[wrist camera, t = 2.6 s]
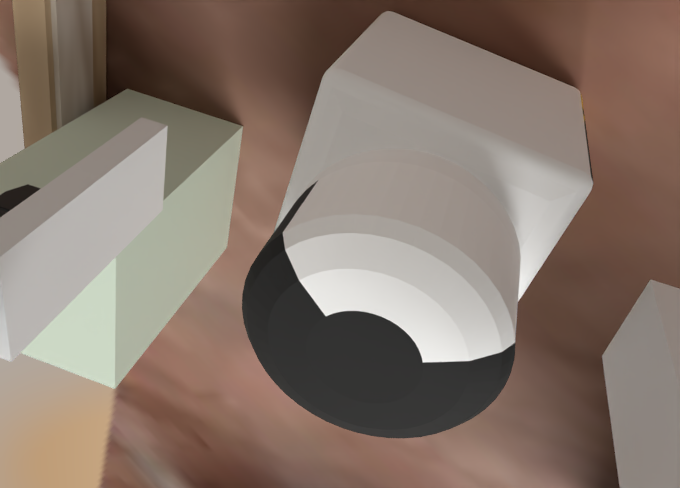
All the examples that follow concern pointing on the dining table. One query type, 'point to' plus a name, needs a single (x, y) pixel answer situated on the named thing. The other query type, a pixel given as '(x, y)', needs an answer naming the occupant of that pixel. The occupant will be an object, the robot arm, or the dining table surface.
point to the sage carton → (149, 245)
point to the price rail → (59, 62)
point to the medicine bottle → (414, 230)
